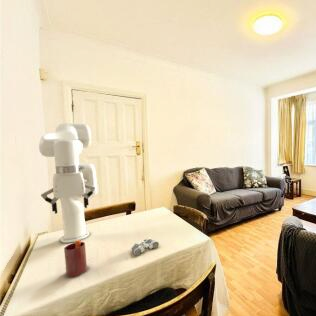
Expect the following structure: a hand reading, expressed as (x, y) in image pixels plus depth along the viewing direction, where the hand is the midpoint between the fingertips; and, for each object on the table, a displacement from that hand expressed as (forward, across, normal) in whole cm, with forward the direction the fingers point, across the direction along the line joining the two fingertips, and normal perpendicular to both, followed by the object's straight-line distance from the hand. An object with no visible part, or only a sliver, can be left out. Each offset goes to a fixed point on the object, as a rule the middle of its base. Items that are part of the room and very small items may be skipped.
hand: (71, 209), depth 85 cm
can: (+26, 0, +4) cm, 26 cm away
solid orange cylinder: (+25, 0, +4) cm, 26 cm away
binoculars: (+26, -27, +4) cm, 38 cm away
